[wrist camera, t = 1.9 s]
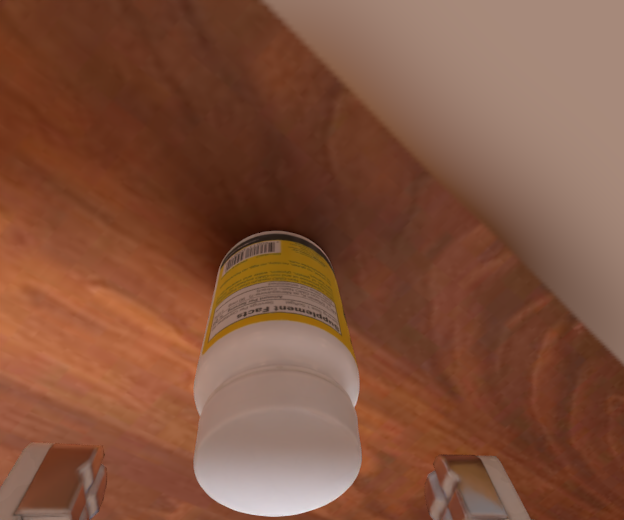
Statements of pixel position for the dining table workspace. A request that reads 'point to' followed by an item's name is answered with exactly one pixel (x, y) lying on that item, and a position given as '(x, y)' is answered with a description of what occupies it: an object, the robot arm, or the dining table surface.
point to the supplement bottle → (276, 381)
